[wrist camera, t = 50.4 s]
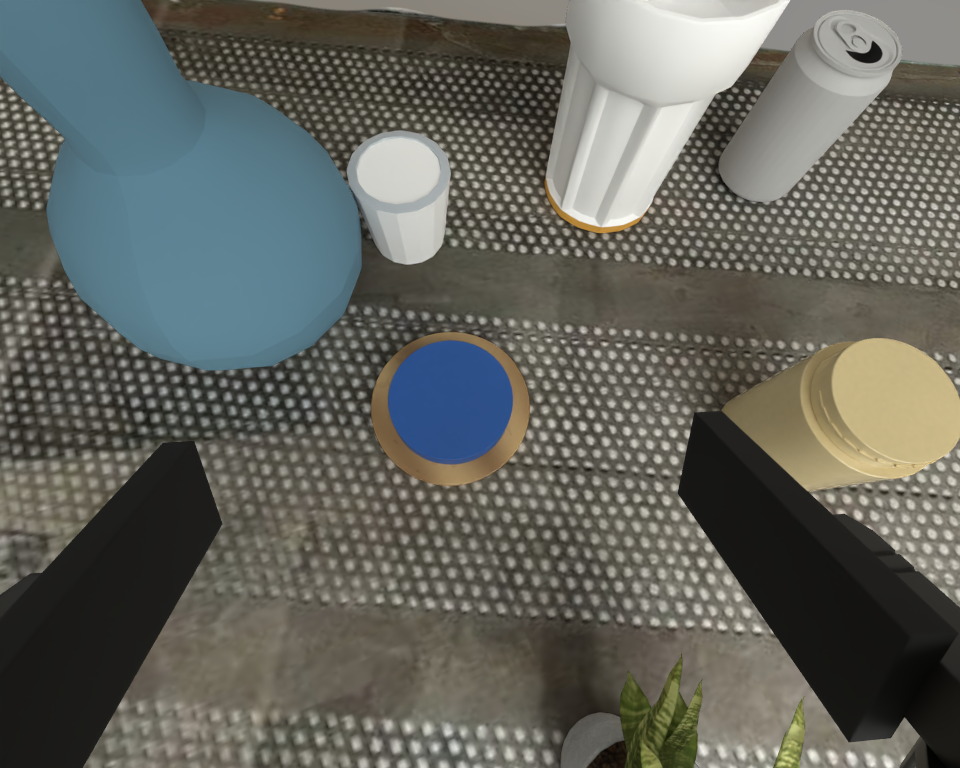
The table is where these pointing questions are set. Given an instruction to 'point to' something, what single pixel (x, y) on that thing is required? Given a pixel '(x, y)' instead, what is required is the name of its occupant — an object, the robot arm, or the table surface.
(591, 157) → the cup
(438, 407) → the jar lid
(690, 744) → the house plant
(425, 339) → the coaster
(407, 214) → the shot glass
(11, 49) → the vase
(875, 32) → the beverage can
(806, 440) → the jar
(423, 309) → the table surface
